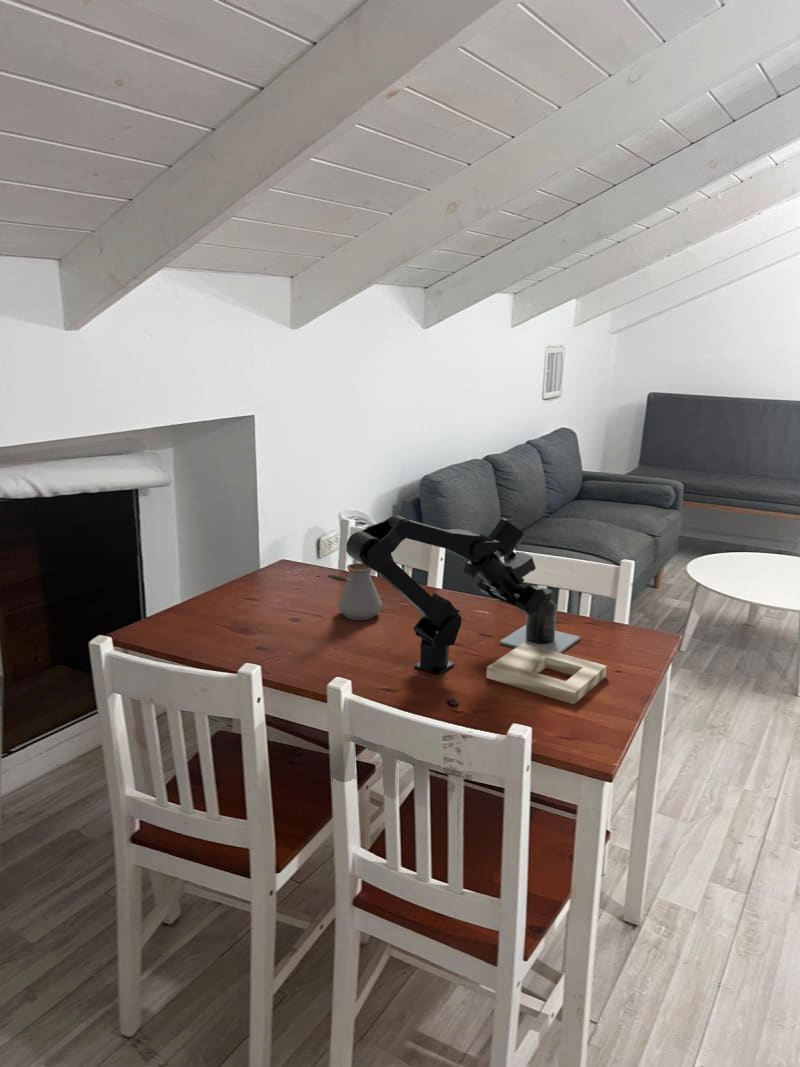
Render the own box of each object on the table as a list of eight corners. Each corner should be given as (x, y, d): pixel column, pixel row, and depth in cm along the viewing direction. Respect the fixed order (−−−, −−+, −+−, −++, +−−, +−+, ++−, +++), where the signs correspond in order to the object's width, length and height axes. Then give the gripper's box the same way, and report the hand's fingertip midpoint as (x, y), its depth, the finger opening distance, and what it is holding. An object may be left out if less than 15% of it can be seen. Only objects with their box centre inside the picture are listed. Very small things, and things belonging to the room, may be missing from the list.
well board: (574, 704, 160) (574, 692, 159) (486, 677, 171) (486, 666, 170) (605, 676, 172) (606, 665, 171) (522, 653, 183) (522, 643, 183)
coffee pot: (351, 604, 214) (351, 550, 210) (390, 611, 209) (390, 555, 205) (307, 631, 195) (306, 572, 192) (349, 639, 191) (348, 579, 187)
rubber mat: (554, 658, 181) (554, 655, 181) (499, 643, 189) (499, 641, 189) (580, 639, 192) (580, 636, 192) (527, 625, 200) (527, 623, 200)
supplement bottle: (551, 633, 194) (554, 586, 190) (557, 644, 187) (560, 595, 184) (522, 633, 193) (525, 586, 190) (527, 644, 187) (530, 595, 184)
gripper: (542, 554, 172) (578, 595, 180) (490, 534, 188) (525, 573, 196) (510, 594, 170) (548, 634, 178) (461, 571, 186) (497, 608, 194)
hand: (529, 610), depth 187 cm, fingers open, 9 cm apart
